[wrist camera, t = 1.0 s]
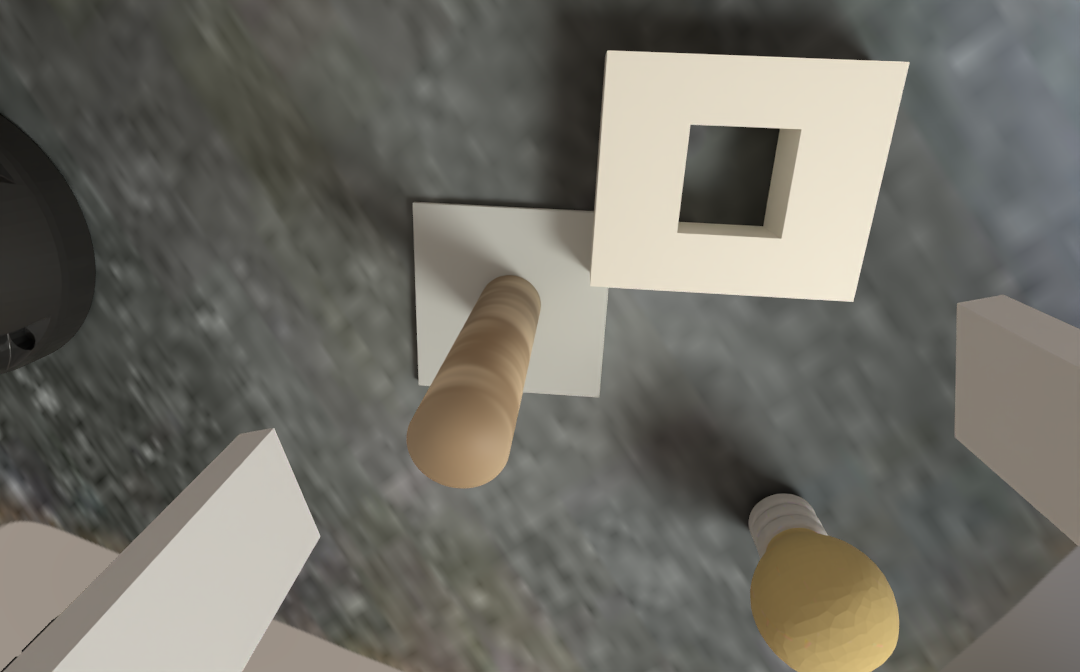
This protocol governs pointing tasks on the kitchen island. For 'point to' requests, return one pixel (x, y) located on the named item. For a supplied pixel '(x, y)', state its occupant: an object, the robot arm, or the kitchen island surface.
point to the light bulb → (817, 593)
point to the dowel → (478, 389)
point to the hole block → (796, 185)
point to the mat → (521, 250)
